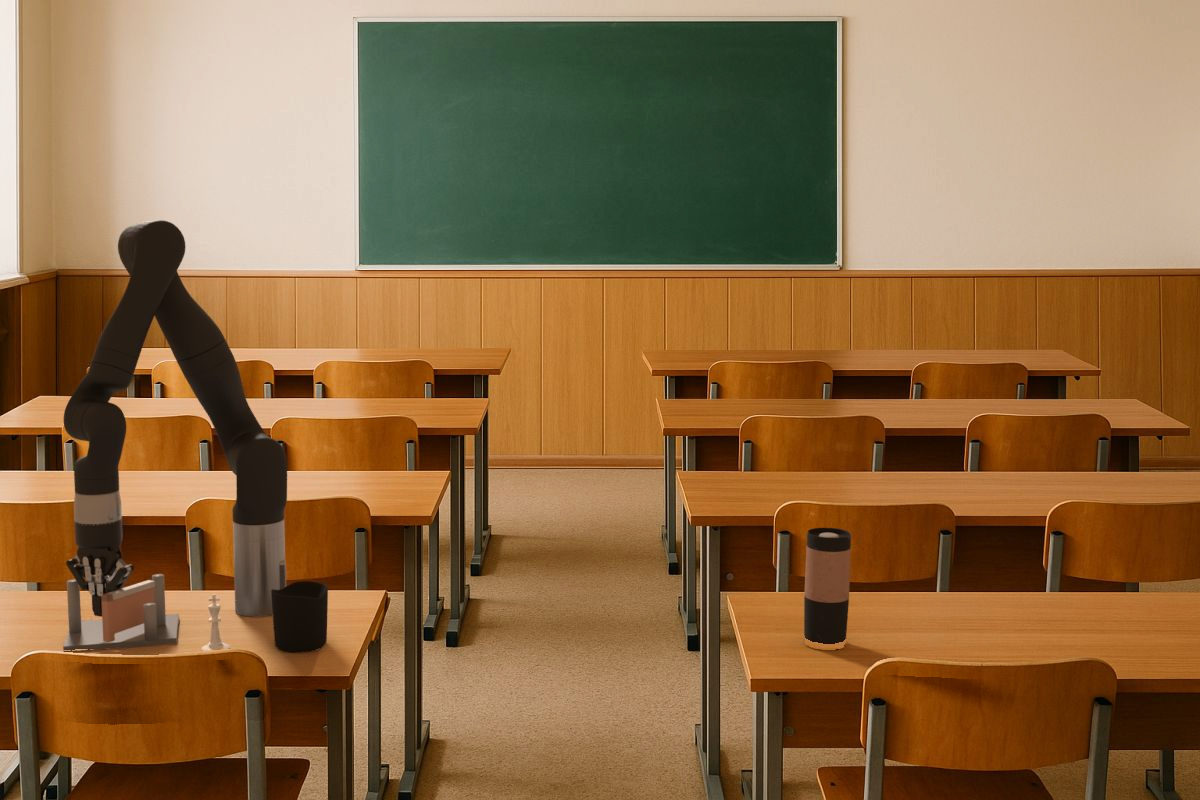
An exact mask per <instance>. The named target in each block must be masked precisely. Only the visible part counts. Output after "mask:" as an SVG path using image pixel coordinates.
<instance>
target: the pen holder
mask: <svg viewBox="0 0 1200 800" xmlns="http://www.w3.org/2000/svg"><path fill="white" fill-rule="evenodd" d="M271 595H272V611H273V615H272V623H273V624H272V625H273V637H274V638H273V639H274V646H275V647H276V648H277V650H278V651H281V652H284V653H291V654H299V653H300V654H301V653H309V652H314V651H317V650H320V649H322V648H323V647H325V645H326V644H327V639H328V637H327V636H328V611H329V610H328V607H329V606H328V603H329V602H328V601H329V600H328V598H329V588H328V585H326V584H325V583H322V582H319V581H313V580H311V581H309V580H301V581H295V582H292V583H289V584H287V585H286V587H284V588H283V589H280V590H275V589H272V590H271Z"/></svg>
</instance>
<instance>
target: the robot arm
mask: <svg viewBox="0 0 1200 800" xmlns="http://www.w3.org/2000/svg"><path fill="white" fill-rule="evenodd" d="M117 253H118V255H119V258H120V261H121V263H122V265H123V267H124V268H125V270H126V271H127V273H128V275H129V276H130V277H129V280H128V283H127V286H126V289H125V291H124V293H123V294H122V297H121V298H120V300H119V303H118V304H117V306H116V308H115V309H114V311H113V313H112V314H111V316H110V318H109V319H108V321H107V323H106V324H105V326H104V328H103V330H102V332H101V334H100V336H99V337H98V338H99V339H98V341H97V344H96V346H95V349H94V353H93V355H92V357H91V362H90V364H89V368H88V370H87V372H86V373H85V375H84V377H83V378H82V379H81V380H80V382H79V384H78V386H77V387H76V389H75V390H74V391H73V394H72V395H71V396H70V398H69V400H68V402H67V404H66V406H65V409H64V413H63V426H64V430H65V432H66V433H67V434H68V436H69V437H70V438H73V439H75V440H78V441H82V442H83V441H85V442H88V449H87V454H86V455H84V456H80V457H79V458H77V459H76V461H75V462H74V465H73V466H74V467H73V477H74V501H73V515H74V516H73V521H74V543H75V545H76V546H77V549H76V555H75V556H74V557H73V558H70V559H69V560H66V561H65V564H66V566H67V568H68V570H69V571H70V573H71V574H72V576H73V577H74V579H76V581H77V582H78V584H79V586H80V588H81V590H82V591H87V592H89V594H90V595H91V607H92V608H91V609H92V612H93V615H94V616H95V617H100V618H102V601H101V595H103V594H106V593H109V592H112V591H116V590H119V589H122V588H123V586H124V585H125V583H126V582H127V580H129V578H130V576H131V574H132V573H133V572H134V570H135V566H134V564H130V563H129V564H127V563H126V561H124V560H123V557H124V556H123V552H122V550H121V544H122V542H123V516H122V515H123V514H122V510H123V509H122V500H121V499H122V498H121V493H120V475H119V474H120V473H119V471H120V470H119V464H120V460H121V459H122V453H123V449H124V444H125V440H126V437H127V436H126V435H127V420H126V417H125V415H124V412H123V411H122V409H121V407H119V405H117V404H115V403H112V402H110V400H111V399H112V397H113V396H114V394H116V393H119V392H122V391H125V390H127V389H128V388H129V387H130V384H131V382H132V379H133V377H134V373H135V371H136V368H137V364H138V362H139V359H140V357H141V356H140V355H141V352H142V349H143V347H144V344H145V341H146V338H147V335H148V333H149V330H150V327H151V325H152V323H153V320H154V318H155V320H156V322H157V324H158V326H159V328H160V330H161V332H162V334H163V336H164V338H165V340H166V342H167V344H168V346H169V348H170V350H171V352H172V354H173V357H174V359H175V361H176V363H177V365H178V367H179V369H180V370H181V373H182V374H183V377H184V378H185V380H186V381H187V383H188V385H189V387H190V388H191V390H192V392H193V393H194V395H195V397H196V400H197V401H198V402H199V404H200V405H201V406H202V408H203V410H204V411H205V413H206V414H207V416H208V418H209V420H210V421H211V423H212V426H213V428H214V430H215V433H216V434H217V438H218V440H219V443H220V446H221V447H222V451H223V454H224V456H225V459H226V463H227V465H228V467H229V468H230V470H231V472H232V473H233V474H234V475H235V477H236V481H235V482H236V483H235V485H236V499H235V503H234V505H233V507H232V536H233V538H232V539H233V570H234V571H233V575H234V577H233V579H234V582H233V583H234V608H235V609H234V610H235V613H236V614H238V615H241V616H245V617H267V616H273V611H272V595H271V590H272V589H275V590H280V589H283V588H284V587H286V586H287V562H286V545H285V544H286V539H285V509H286V506H287V500H288V462H287V461H288V460H287V456H286V451H285V449H284V447H283V445H282V444H281V443H280V442H279V441H277V440H276V439H274V438H273V437H271V436H268V434H267V433H266V431H264V429H263V427H262V426H261V425H260V423H259V421H258V420H257V418H256V416H255V414H254V412H253V411H252V409H251V407H250V406H249V405H250V404H249V403H248V401H247V398H246V395H245V390H244V387H243V381H242V377H241V375H240V374H241V373H240V371H239V370H240V369H239V367H238V364H237V360H236V359H235V357H234V355H233V352H232V350H231V348H230V346H229V344H228V341H227V340H226V338H225V336H224V334H223V332H222V330H221V329H220V328H219V326H218V324H217V323H215V321H214V320H213V319H212V317H210V315H209V314H208V313H207V312H206V311H205V310H204V308H202V307H201V306H200V304H199V303H198V302H197V301H196V300H195V299H194V298H193V297H192V296H191V294H190V293H189V291H188V290H187V289H186V287H185V285H184V284H183V281H182V279H181V277H180V275H179V273H178V269H179V268H180V266H181V264H182V261H183V259H184V257H185V254H186V240H185V237H184V234H183V233H182V231H181V230H180V229H179V228H178V226H177V225H175V224H174V223H172V222H171V221H168V220H165V219H163V220H162V219H154V220H153V219H152V220H146V221H143V222H138V223H134V224H131V225H129V226H127V227H126V228H124V230H122V231H121V234H120V235H119V237H118V242H117Z"/></svg>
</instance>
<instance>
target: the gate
mask: <svg viewBox="0 0 1200 800" xmlns="http://www.w3.org/2000/svg"><path fill="white" fill-rule="evenodd" d="M154 587H155V581H152V579H148V580H144V581H141V582H138V583H135V584H131V585H129V586H125V587H122V588H121V589H119V590H116V591H112V592H109V593H106V594H103V595H101V601H102V617H101V619H102V624H103V641H106V642H111V641H114V640H115V633H118V632H121V631H124V630H127V629H130V628H132V627H135V626H138V625H141V624H144V608H143V605H144V604H146V603H154Z"/></svg>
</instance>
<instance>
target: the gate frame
mask: <svg viewBox="0 0 1200 800" xmlns="http://www.w3.org/2000/svg"><path fill="white" fill-rule="evenodd" d="M151 580H152V581H155V587H154V603H146V604H144V605H143V608H144V624H141V625H138V626H135V627H132V628H130V629H127V630H124V631H121V632H118V633H115V640H114V641H111V642H106V641H103V624H102V618H101V619H87V620H86V619H84V620H82V613H81V612H82V608H81V590H80V588H81V587H80V586H79V584H78V582H77V581H76V579H75V578H74V579H73V578H72V579H69V580H66V592H67V597H66V598H67V613H68V614H67V615H68V633H67V635H66V638H65V641H64V643H63V647H62V649H63V650H71V651H72V650H75V649H88V650H87V651H91V650H90V649H100V650H108V649H107V648H111V649H112V648H113V649H125V648H136V647H137V648H138V647H139V648H140V647H148V646H149V647H150V646H151V647H152V646H163V645H176V644H177V641H178V640H177V639H178V631H179V621H180V614H179V613H171V614H168V613H167V614H166V593H165V592H166V591H165V574H162V573H157V574H152V575H151ZM111 649H110V650H111ZM63 650H62V651H63Z"/></svg>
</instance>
